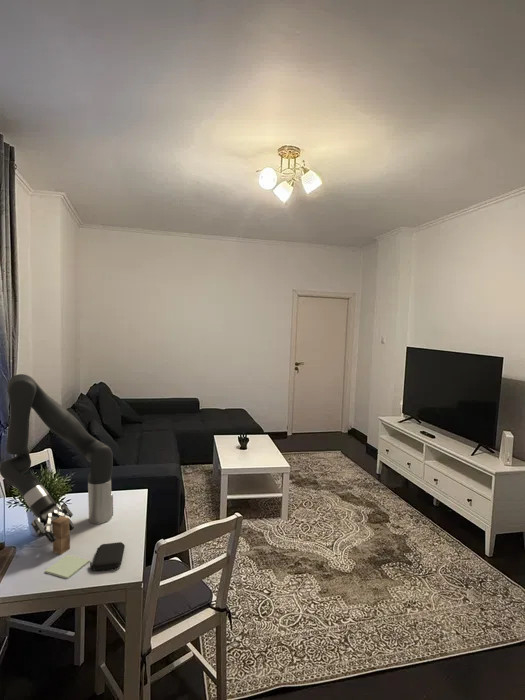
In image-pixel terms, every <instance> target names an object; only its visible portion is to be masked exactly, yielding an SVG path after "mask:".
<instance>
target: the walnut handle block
mask: <svg viewBox="0 0 525 700" xmlns="http://www.w3.org/2000/svg"><path fill="white" fill-rule="evenodd" d="M51 526H52V527H51V528H52V531H51V532H52V533H53V534H54V536H55V537H56V540H55V541H54V542H53V543H52V553H55V554H58V555H63V554H64V553H66V552H68V551H69V550H70V549H71V542H70V541H71V540H70V539H71V538H70V534H71V533H70V532H71V531H70V530H69V518H67V517H62V516H60V517H59V518H57V519H55V520H53V521H52V524H51Z"/></svg>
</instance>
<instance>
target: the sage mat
mask: <svg viewBox="0 0 525 700" xmlns="http://www.w3.org/2000/svg"><path fill="white" fill-rule="evenodd" d="M90 562H91V561H90V559H87V558H83V557H79V556H75V555H71V554H66V555H65V556H64V557H62V558H61V559H59V560H58V561H56V562H55V563H53V564H52V565H51V566H49V567H48V568H46V569H45V570H44V573H46V574H49V575H52V576H55V577H59V578H63V579H67V580H68V579H69V578H72V577H73V576H74V575H75V574H76V573H78V572H79V571H80V570H81V569H83V567H85V566H86V565H88V564H90Z"/></svg>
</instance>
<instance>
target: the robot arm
mask: <svg viewBox="0 0 525 700" xmlns="http://www.w3.org/2000/svg"><path fill="white" fill-rule="evenodd" d="M7 394H8V396H9V397H8V398H9V405H10V418H9V423H8V427H7V437H6V447H5V449H6V452H7V453H8V454H10V455H16V456H14V457H11V458H9V459H7V460H4V461H2V462H1V463H0V475H1V477H2V479H4V480H5V481H6V482H8V483H9V484H11V485H12V486H13V487H15V489H17V490H18V492H19V493H20V494H21V496H22V497H23V500H24V501H25V503H26V504H27V506H28V507H29V510H30V511H31V512H32V513H33V514H34V516H35V517H36V518H34V519H33V520H32V522H30V523H31V524H30V525H31V526H32V528H33V530H34V531H35V533H36V535H37V536H38V537H41V536H45V537H46V539H47V540H48V541H49V543H51V544H53V542H54V541H55V540H56V537H55V536H54V534H53V533H52V531H51V526H52V521H53V520H55V519H57V518H59V517H60V516H62V517H67V518H69V531H70V532H71V531H73V530H74V529H75V525H74V522H73V521H72V520H71V518H72V516H73V515H74V513H73V512H72V511H71V510H70V508H69V507H68V506H67V505H66V504H65V503H62V504H61V505H60V506H57V505H56V502H55V500H54V499H53V497H52V496H51V494H50V493H49V492H48V491H47V489H46V488H45V487H44V486H43V485H42V483H41V482H40V480H39V479H38V478H37V477H36V475H35V474H25V473H27V472H28V471H29V470H30V469H31V465H32V460H31V456H30V450H29V447H28V446H29V437H30V417H31V412H32V409H33V411H34V412H35V414H37V416H38V417H39V418H40V420H42V422H43V423H44V425H45V426H46V427H47V428H49V430H51V431H52V432H53V433H54V434H56V435H57V436H58V437H59V438H61V439H62V440H64V441H65V442H67V443H69V444H70V445H72V446H74V447H75V448H76V449H77V450H78V451H79V452H80V454H82V456H83V457H84V458H85V459H86V461H88V462H89V463H90V473H88V476H87V491H88V492H87V493H88V494H87V495H88V496H87V497H88V499H87V500H88V522H89V523H90V524H94V525H98V524H103V523H106V522H108V521H110V520H111V519H112V517H113V515H114V494H113V493H112V475H113V472H114V471H113V469H114V466H113V465H114V464H113V463H114V454H113V451H112V449H111V447H110V446H109V445H107V444H105V443H103V442H102V441H100V440H98V439H97V438H96V437H94V436H93V435H91V434H90V433H89V432H88V431H87V430H86V429H85V427H84V426H83V425H82V423H81V422H80V421H79V419H77V418H76V417H75V415H73V414H72V413H71V412H70V411H68V410H67V409H66V408H65V407H64V406H62V405H61V404H60V403H58V402H57V401H56V400H55V399H54V398H52V397H51V396H50V395H48V394H47V393H46V392H45V391H44V390H43V388H41V386H40V385H39V384H38V383H37V382H36V380H35V379H34V378H33V377H32V376H30V375H27V374H22V373H20V374H19V373H18V374H15V375H13V376H12V377H11V378H10V379H9V380H8V382H7ZM41 523H42V524H41Z"/></svg>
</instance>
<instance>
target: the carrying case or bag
mask: <svg viewBox="0 0 525 700" xmlns="http://www.w3.org/2000/svg"><path fill="white" fill-rule="evenodd" d="M124 553H125V544H124V543H123V542H121V541H119V542H112V543H111V542H110V543H109V542H108V543H103V544H100V545H99V546H98V547H97V549H96V552H95V554H94V558H93V561H90V562H89V566H90V569H91V570H92V571H93V572H107V571H115V570H118V569H119V568H120V567H121V565H122V561H123V558H124V557H123V556H124Z"/></svg>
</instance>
